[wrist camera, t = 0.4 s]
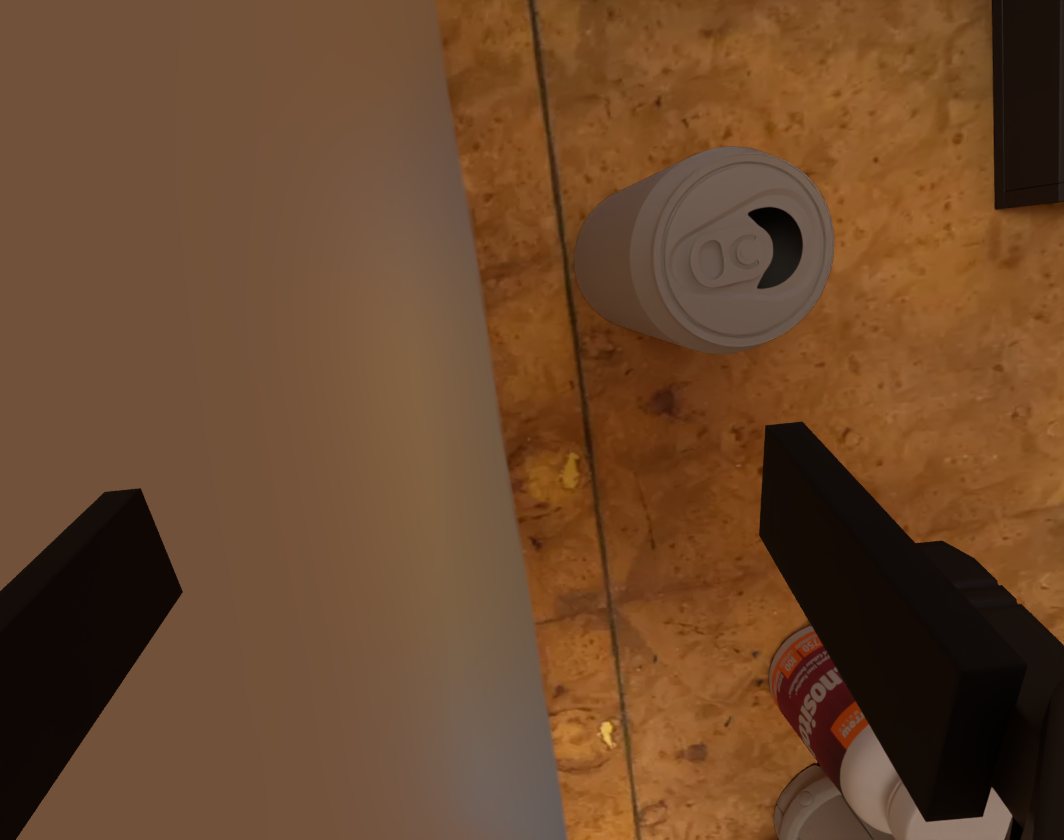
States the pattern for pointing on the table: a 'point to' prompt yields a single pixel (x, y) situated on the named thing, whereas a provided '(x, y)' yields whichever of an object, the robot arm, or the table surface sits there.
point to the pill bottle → (859, 748)
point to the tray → (1028, 102)
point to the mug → (819, 812)
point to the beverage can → (709, 251)
